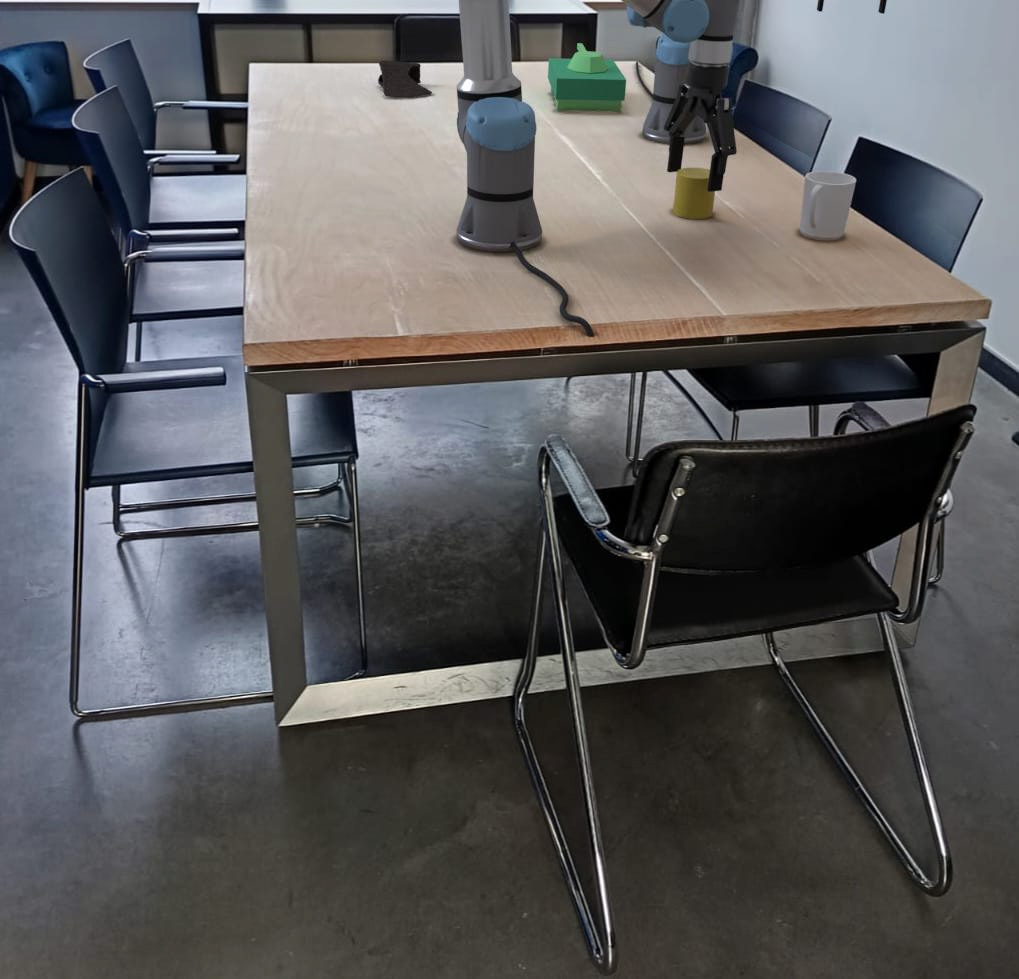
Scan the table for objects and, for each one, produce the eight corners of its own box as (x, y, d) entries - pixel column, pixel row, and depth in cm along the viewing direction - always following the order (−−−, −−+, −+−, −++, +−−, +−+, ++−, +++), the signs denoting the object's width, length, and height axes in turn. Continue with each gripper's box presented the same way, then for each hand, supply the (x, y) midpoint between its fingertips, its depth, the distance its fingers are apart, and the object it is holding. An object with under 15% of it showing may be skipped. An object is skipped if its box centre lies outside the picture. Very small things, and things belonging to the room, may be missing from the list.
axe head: (443, 87, 294) (392, 77, 287) (436, 115, 299) (385, 106, 292) (421, 62, 307) (371, 52, 300) (414, 89, 311) (365, 80, 304)
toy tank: (610, 40, 305) (627, 64, 275) (607, 86, 311) (623, 114, 282) (547, 38, 304) (557, 62, 274) (545, 84, 310) (555, 113, 281)
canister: (674, 205, 216) (678, 166, 212) (713, 209, 214) (718, 169, 210) (671, 217, 209) (675, 176, 205) (710, 220, 208) (715, 179, 204)
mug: (809, 222, 208) (818, 168, 202) (854, 233, 203) (864, 177, 197) (782, 236, 200) (791, 180, 195) (827, 247, 195) (838, 190, 190)
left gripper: (768, 76, 190) (749, 197, 201) (687, 50, 208) (673, 162, 220) (732, 78, 187) (715, 201, 198) (654, 51, 205) (642, 165, 217)
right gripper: (812, -97, 230) (796, 12, 241) (932, -94, 228) (911, 16, 240) (806, -99, 236) (791, 7, 247) (923, -96, 235) (903, 10, 246)
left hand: (693, 181), depth 209 cm, fingers open, 13 cm apart
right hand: (850, 11), depth 243 cm, fingers open, 13 cm apart
